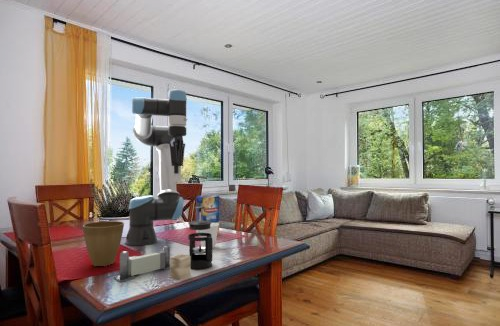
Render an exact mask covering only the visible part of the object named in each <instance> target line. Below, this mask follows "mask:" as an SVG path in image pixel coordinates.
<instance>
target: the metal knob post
mask: <svg viewBox="0 0 500 326" xmlns="http://www.w3.org/2000/svg"><path fill="white" fill-rule="evenodd" d="M129 253H130V252H129V251H126V250H125V251H121V252H119V275H117V276H113V280H115V281H116V282H119V283H123V282H127V281H131V280H134V279H135V275H133V276H131V275H129V258H133V257H138V255H133V256H130V255H129Z"/></svg>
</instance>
